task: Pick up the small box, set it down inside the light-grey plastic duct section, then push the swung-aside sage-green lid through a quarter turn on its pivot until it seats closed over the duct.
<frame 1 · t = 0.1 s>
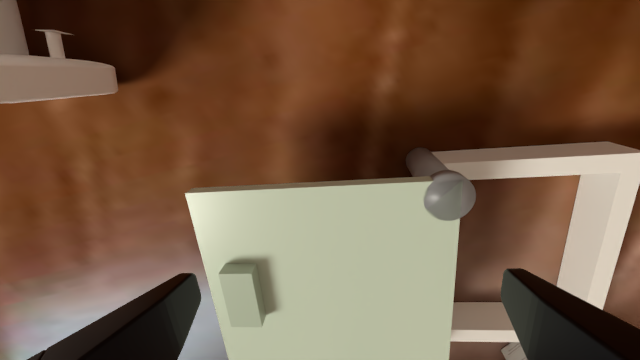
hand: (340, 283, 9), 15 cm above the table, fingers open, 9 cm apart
duct: (502, 238, 23), on the table
small box: (543, 344, 27), on the table
cover: (331, 288, 18), point 7 cm above the table, hinge at -90.0°
cable organizer: (31, 14, 21), on the table
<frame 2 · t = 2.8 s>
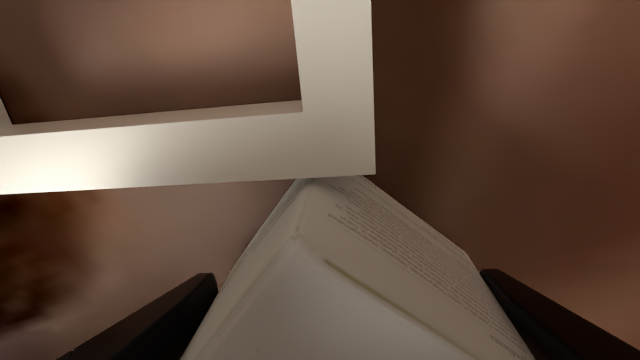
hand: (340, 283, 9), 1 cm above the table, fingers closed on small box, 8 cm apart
small box: (342, 258, 10), on the table, touching gripper
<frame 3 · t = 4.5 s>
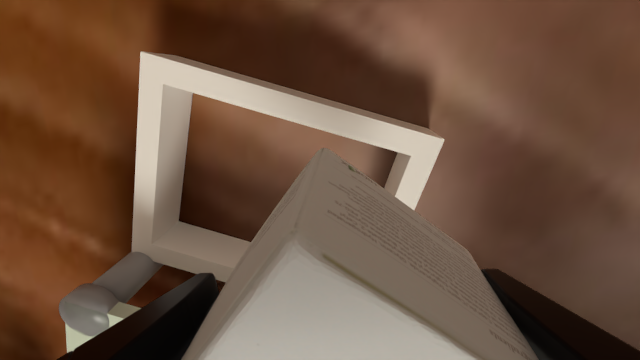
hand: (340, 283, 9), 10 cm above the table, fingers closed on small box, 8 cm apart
duct: (280, 185, 19), on the table
small box: (344, 256, 10), point 9 cm above the table, touching gripper
when the fingers open (4 cm above the table, at t = 6.3 s): small box drops 3 cm, resting in duct.
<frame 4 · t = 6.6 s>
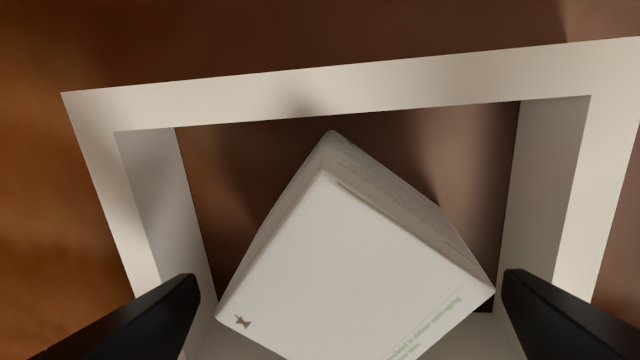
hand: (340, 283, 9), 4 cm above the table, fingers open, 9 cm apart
duct: (342, 221, 12), on the table
small box: (346, 217, 12), resting in duct
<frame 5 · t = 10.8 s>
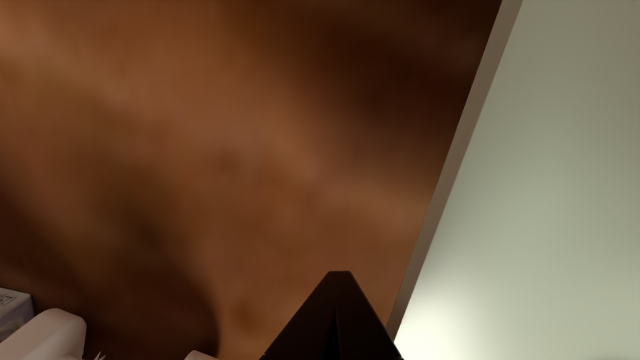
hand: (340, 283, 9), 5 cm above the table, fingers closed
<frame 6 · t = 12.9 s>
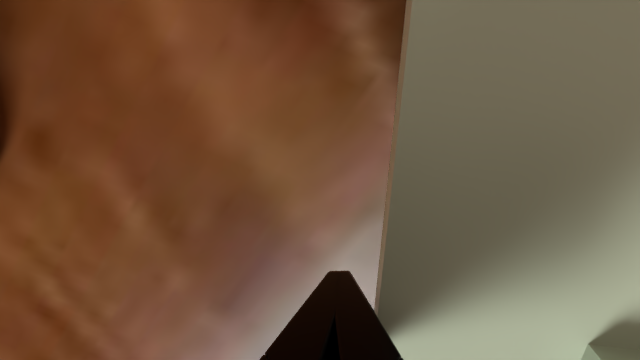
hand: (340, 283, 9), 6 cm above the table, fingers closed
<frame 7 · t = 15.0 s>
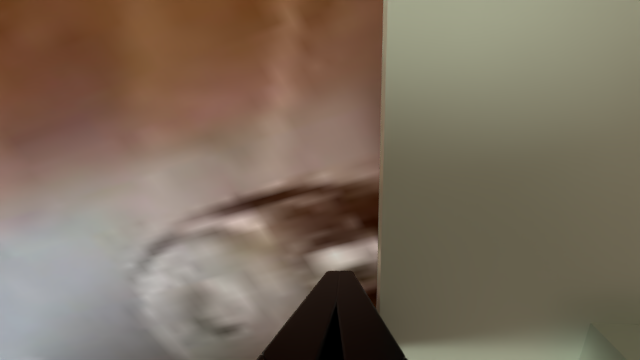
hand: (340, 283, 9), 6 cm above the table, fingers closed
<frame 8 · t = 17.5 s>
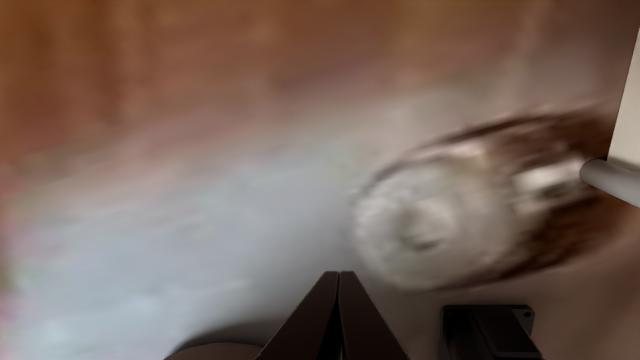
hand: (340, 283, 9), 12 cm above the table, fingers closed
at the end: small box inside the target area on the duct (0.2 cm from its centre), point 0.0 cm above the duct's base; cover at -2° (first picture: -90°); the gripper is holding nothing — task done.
